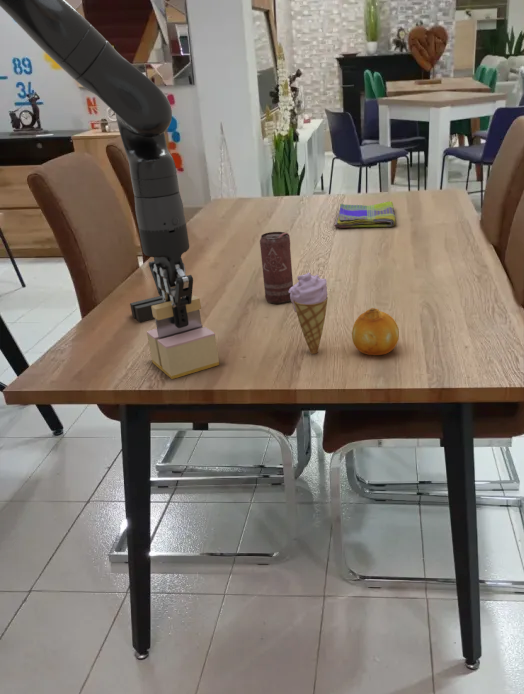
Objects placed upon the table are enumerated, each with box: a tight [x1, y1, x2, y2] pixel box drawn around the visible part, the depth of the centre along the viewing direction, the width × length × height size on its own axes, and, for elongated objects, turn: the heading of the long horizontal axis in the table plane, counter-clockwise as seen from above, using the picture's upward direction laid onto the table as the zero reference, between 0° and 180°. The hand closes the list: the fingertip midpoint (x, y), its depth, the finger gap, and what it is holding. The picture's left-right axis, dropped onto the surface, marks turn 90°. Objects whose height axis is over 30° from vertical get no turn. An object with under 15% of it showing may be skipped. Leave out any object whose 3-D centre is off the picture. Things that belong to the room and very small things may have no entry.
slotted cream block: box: [146, 325, 220, 380], centre depth 121 cm, size 9×9×6 cm
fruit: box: [351, 307, 400, 356], centre depth 121 cm, size 8×8×8 cm
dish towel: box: [334, 201, 396, 229], centre depth 206 cm, size 18×24×3 cm
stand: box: [129, 295, 165, 323], centre depth 145 cm, size 9×4×3 cm, turn 123°
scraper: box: [151, 294, 203, 339], centre depth 119 cm, size 8×2×9 cm, turn 123°
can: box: [259, 231, 294, 305], centre depth 146 cm, size 6×6×14 cm
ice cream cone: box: [288, 271, 328, 355], centre depth 120 cm, size 7×6×15 cm
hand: (178, 323), depth 119 cm, fingers closed on scraper, 2 cm apart
